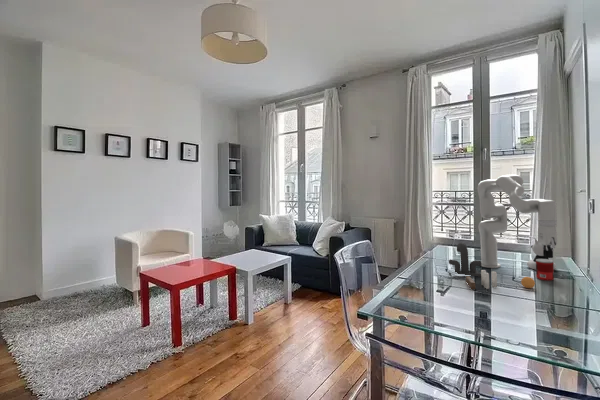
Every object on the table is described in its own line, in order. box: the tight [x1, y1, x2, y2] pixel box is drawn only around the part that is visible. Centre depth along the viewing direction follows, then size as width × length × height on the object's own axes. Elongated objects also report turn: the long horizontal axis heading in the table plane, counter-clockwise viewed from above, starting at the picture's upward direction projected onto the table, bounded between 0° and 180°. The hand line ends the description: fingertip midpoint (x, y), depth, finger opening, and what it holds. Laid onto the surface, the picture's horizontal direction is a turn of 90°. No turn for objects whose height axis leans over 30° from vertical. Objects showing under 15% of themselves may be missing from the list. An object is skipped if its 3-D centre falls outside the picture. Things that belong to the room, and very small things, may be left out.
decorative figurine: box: [526, 238, 557, 271], centre depth 190 cm, size 15×15×20 cm
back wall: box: [465, 276, 476, 290], centre depth 168 cm, size 12×2×4 cm, turn 163°
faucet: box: [448, 241, 482, 278], centre depth 191 cm, size 18×16×20 cm
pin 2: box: [483, 272, 490, 290], centre depth 163 cm, size 2×2×8 cm
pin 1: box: [480, 269, 487, 287], centre depth 168 cm, size 2×2×8 cm
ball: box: [520, 276, 536, 289], centre depth 160 cm, size 6×6×6 cm
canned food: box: [535, 258, 555, 282], centre depth 172 cm, size 8×8×11 cm
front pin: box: [491, 270, 498, 288], centre depth 165 cm, size 2×2×8 cm
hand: (548, 257), depth 156 cm, fingers closed
